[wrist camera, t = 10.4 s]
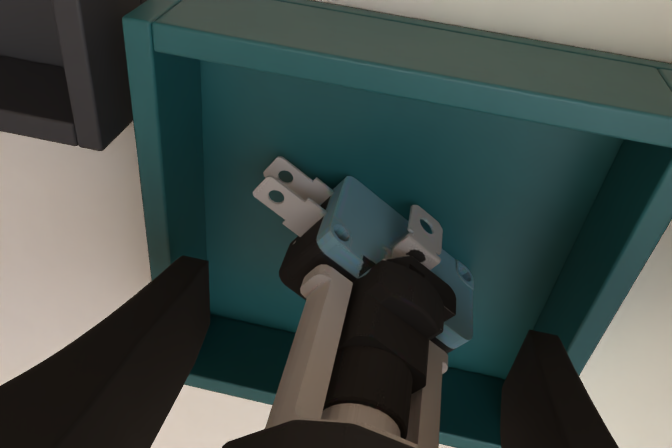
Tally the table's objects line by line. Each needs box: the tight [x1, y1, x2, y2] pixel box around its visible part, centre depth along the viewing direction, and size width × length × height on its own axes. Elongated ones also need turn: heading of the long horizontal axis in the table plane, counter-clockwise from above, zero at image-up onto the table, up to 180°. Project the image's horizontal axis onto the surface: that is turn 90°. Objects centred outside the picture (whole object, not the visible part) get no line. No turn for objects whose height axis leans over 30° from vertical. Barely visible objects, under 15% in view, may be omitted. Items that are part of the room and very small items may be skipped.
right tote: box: [122, 0, 672, 448], centre depth 15 cm, size 11×11×3 cm
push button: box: [222, 156, 474, 448], centre depth 12 cm, size 7×5×10 cm
